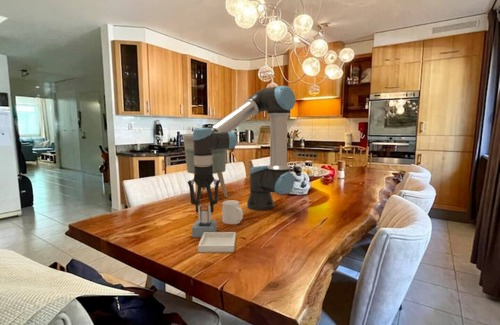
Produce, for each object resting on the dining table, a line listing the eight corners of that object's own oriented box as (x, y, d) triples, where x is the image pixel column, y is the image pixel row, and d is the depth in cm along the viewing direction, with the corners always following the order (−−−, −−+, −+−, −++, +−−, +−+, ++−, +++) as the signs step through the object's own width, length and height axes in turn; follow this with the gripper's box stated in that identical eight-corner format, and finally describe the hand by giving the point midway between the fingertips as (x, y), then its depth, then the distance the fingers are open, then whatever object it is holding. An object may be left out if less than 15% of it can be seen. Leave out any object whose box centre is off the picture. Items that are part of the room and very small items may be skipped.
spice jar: (210, 229, 120) (209, 205, 118) (209, 232, 116) (208, 207, 114) (202, 229, 120) (201, 205, 118) (200, 232, 116) (199, 207, 114)
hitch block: (216, 229, 122) (216, 220, 122) (214, 237, 113) (213, 228, 113) (196, 229, 122) (196, 220, 122) (192, 237, 113) (191, 228, 113)
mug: (217, 202, 131) (230, 198, 137) (218, 221, 133) (230, 217, 138) (235, 207, 123) (247, 203, 129) (235, 227, 125) (247, 222, 130)
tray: (235, 237, 113) (235, 232, 112) (233, 252, 100) (233, 245, 99) (204, 237, 113) (204, 232, 112) (198, 252, 100) (197, 245, 100)
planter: (236, 196, 177) (236, 133, 172) (209, 207, 155) (207, 135, 150) (205, 191, 191) (204, 133, 186) (176, 200, 169) (173, 134, 164)
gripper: (224, 163, 117) (225, 216, 121) (185, 164, 118) (187, 216, 121) (222, 166, 110) (223, 222, 113) (181, 166, 110) (183, 223, 113)
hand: (205, 219), depth 117 cm, fingers closed on spice jar, 4 cm apart
